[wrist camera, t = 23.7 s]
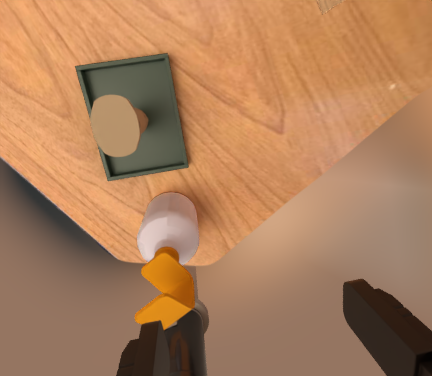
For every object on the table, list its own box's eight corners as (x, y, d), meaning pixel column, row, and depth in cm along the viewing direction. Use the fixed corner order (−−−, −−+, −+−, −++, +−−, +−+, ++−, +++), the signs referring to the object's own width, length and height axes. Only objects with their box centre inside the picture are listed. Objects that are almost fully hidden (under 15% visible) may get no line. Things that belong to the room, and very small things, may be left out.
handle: (126, 141, 43) (98, 159, 29) (119, 100, 41) (84, 96, 27) (156, 139, 43) (143, 154, 29) (150, 97, 41) (133, 92, 27)
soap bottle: (173, 181, 46) (162, 256, 23) (206, 217, 49) (226, 317, 26) (135, 212, 47) (87, 316, 24) (169, 246, 50) (157, 369, 26)
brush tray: (188, 164, 46) (188, 167, 43) (111, 177, 45) (107, 181, 43) (168, 55, 40) (167, 53, 38) (80, 68, 39) (74, 66, 37)
